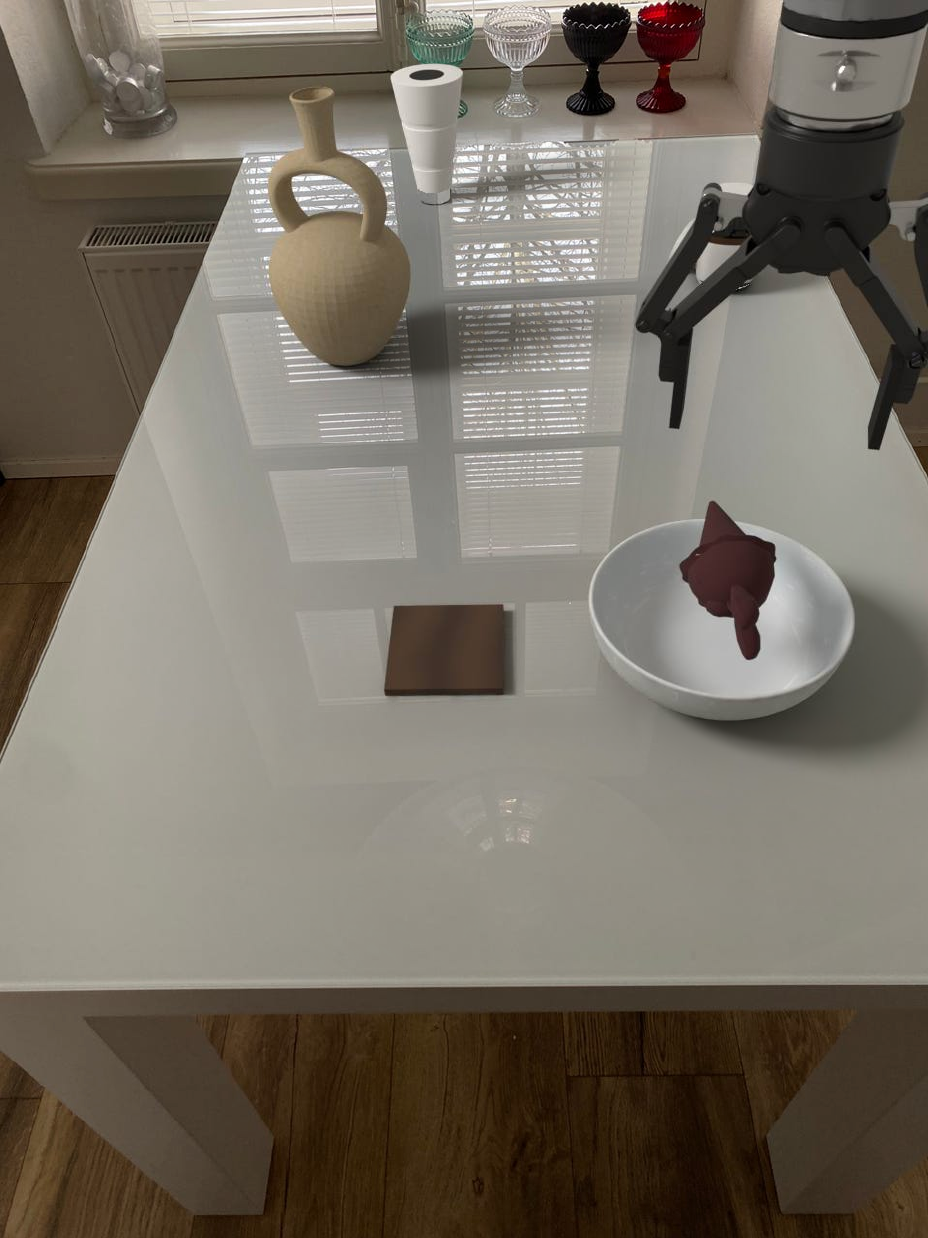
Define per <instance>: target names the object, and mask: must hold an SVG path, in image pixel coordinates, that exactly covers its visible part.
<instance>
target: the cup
mask: <svg viewBox="0 0 928 1238" xmlns="http://www.w3.org/2000/svg"><path fill="white" fill-rule="evenodd" d="M463 76H464V72H463V70H462V69H461V68H460V67H458V66H454V65H450V64H445V63H422V64H415V65H410V66H405V67H402V68H400V69H398V70H396V71H394V72H393V73H391V75H390V82H391V85H392V90H393V94H394V98H395V101H396V106H397V111H398V114H399V118H400V120H401V127H402V130H403V134H404V138H405V142H406V147H407V150H408V154H409V158H410V161H411V166H412V171H413V175H414V180H415V183H416V187H417V190H418V189H419V190H420V191H423V192H425V193H440V192H443V191H445V190H448V189H449V188H450V187H451V188H452V186H451V185H452V184H453V173H454V164H455V163H454V159H455V153H456V143H457V136H458V135H457V134H458V133H457V132H458V125H459V114H460V105H461V96H462V86H463Z"/></svg>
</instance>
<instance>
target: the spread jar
mask: <svg viewBox="0 0 928 1238" xmlns="http://www.w3.org/2000/svg"><path fill="white" fill-rule="evenodd" d="M718 184H719V185H720V186H721V188H722V191H723V192H729V193H735V194H741V195H748V193H749V192H750V191H751V189H752V187H753V186H754V184H751V183H746V182H738V181H737V182H736V181H734V182H732V181H731V182H723V183H718ZM695 219H696V216H695V217H693V218H692V219H691V220H690V221H689V222H688V224H686V226H685V228H683V230H682V232H681V233H680V235H679V236H678V238H677V240H676V241H675V244H674V246H673V247H672V249H671V251H670V254H669V257H668V261H669V260H670V259H671V257H672V256H673V254H674V252H675V251H676V249H677V248H678V246H679V245H680V243H681V241H682V240H683V238H684V237H685V235H686V234H687V232H688V230H689V229H690V227H691V226H692V224H693V223H694V221H695ZM749 236H750V233H749V231H748V229H747V228H746V226H745V224H744V222H743V220H742V217H737V218H734V219H732V220H731V221H730V222H729V224H728V226H727V227H726V228H725V229H724V230H722V231H713V233H712V236H711V238H710V241H709V243H708V245H707V247H706V248H705V250H704V251H703V253H702V254H701V256H700V258H699V259H698V261H697V262H696V264H695V269H696V273H697V277H698V279H699V280H700V281H701V282H703V281H704V280H705V279H706V278H708V277H709V276H710V275H711V274H712V273H713V272H714V271H715V270H716V269H717V268H719V267H720V266H721V265H722V264H723V263H724V262H725V261H726V260H727V259H728V258H729V257H731V256H732V255H733V254H734V253H735V252H736V251H737V250H738V249H739V247H740V246H741V244H742V243H743V242H744V241H745V240H746V239H747V238H748V237H749ZM668 261H667V262H668ZM753 279H754V278H752V279H751V280H747V281H746V282H744V283H743V284H742V285H741V286H740V287H743V286H746V285H748V284H750V283H751V284H752V282H753ZM751 281H752V282H751ZM751 284H750V285H751Z"/></svg>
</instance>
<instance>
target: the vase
mask: <svg viewBox="0 0 928 1238" xmlns="http://www.w3.org/2000/svg"><path fill="white" fill-rule="evenodd" d="M335 94H336V92H335V91H334V90H333V89H332V88H330V87H325V86H310V87H309V86H308V87H304V88H299V89H297V90H296V91H293V92H291V94H290V95H289V100H290V102H291V105H292V107H293V109H294V111H295V115H296V118H297V121H298V125H299V130H300V133H301V137H302V144H303V146H304V147H302V148H299V149H295V150H291V151H289V152H288V153H286V154H284V155H283V156H280V158H279V159H278V160H277V161H276V162H275V163H274V165H273V166H272V168H271V170H270V173H269V175H268V180H267V196H268V200H269V205H270V208H271V210H272V213H273V215H274V217H275V219H276V220H277V222H278V223H279V224H280V226H281V227H282V229H283V230H284V231H283V233H282V234H281V235H280V236H279V237H278V238H277V239H276V242H275V243H274V245H273V247H272V250H271V252H270V255H269V259H268V269H267V270H268V272H267V273H268V281H269V286H270V290H271V293H272V297H273V299H274V302H275V304H276V306H277V308H278V310H279V311H280V314H281V315H282V317H283V320H284V321H285V322H286V324H287V326H288V327H289V329H290V330H291V331H292V333H293V335H295V336H296V338H297V339H298V341H299V342H300V343H301V344H302V345H303V346H304V347H305V348H306V350H307V351H309V352H310V353H311V354H312V355H313V356H315V357H316V358H317V359H319V360H320V361H323V362H325V363H327V364H331V365H335V366H344V367H349V366H355V365H360V364H364V363H365V362H368V361H370V360H372V359H373V358H375V357H376V356H378V355H379V354H380V353H381V352H382V351H383V350H384V348H385V347H386V346H387V345H388V343H389V341H390V340H391V339H392V337H393V335H394V333H395V331H396V329H397V326H398V324H399V322H400V320H401V318H402V316H403V313H404V310H405V308H406V304H407V301H408V297H409V292H410V286H411V276H412V274H411V264H410V259H409V254H408V252H407V249H406V247H405V245H404V244H403V242H402V240H401V238H400V237H399V236H398V234H396V233H395V232H394V231H393V230H392V229H391V227H389V226H388V225H386V219H387V215H388V200H387V194H386V193H387V192H386V189H385V187H384V185H383V183H382V181H381V180H380V178H379V177H378V175H377V174H376V172H375V171H374V170H373V169H372V168H371V167H369V165H367V164H366V163H365V162H363V161H362V160H360V159H359V158H357V157H355V156H353V155H350V154H347V153H345V152H343V151H340V150H338V149H337V142H336V135H335V134H336V133H335V124H334V101H335ZM310 174H312V175H313V174H314V175H322V176H327V177H330V178H333V179H336V180H338V181H341V182H342V183H344V184H346V185H347V186H349V187H350V188H351V189H352V190H353V191H354V192H355V193H356V195H357V196H358V198H359V200H360V202H361V206H362V213H360V212H357V211H356V212H354V211H348V210H329V211H322V212H318V213H314V214H311V215H308V214H307V213H306V212H305V211H304V210H303V208H302V207H301V205H300V203H298V200H297V199H296V197H295V194H294V190H293V185H292V184H293V178H294V177H299V176H301V175H310Z"/></svg>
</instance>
